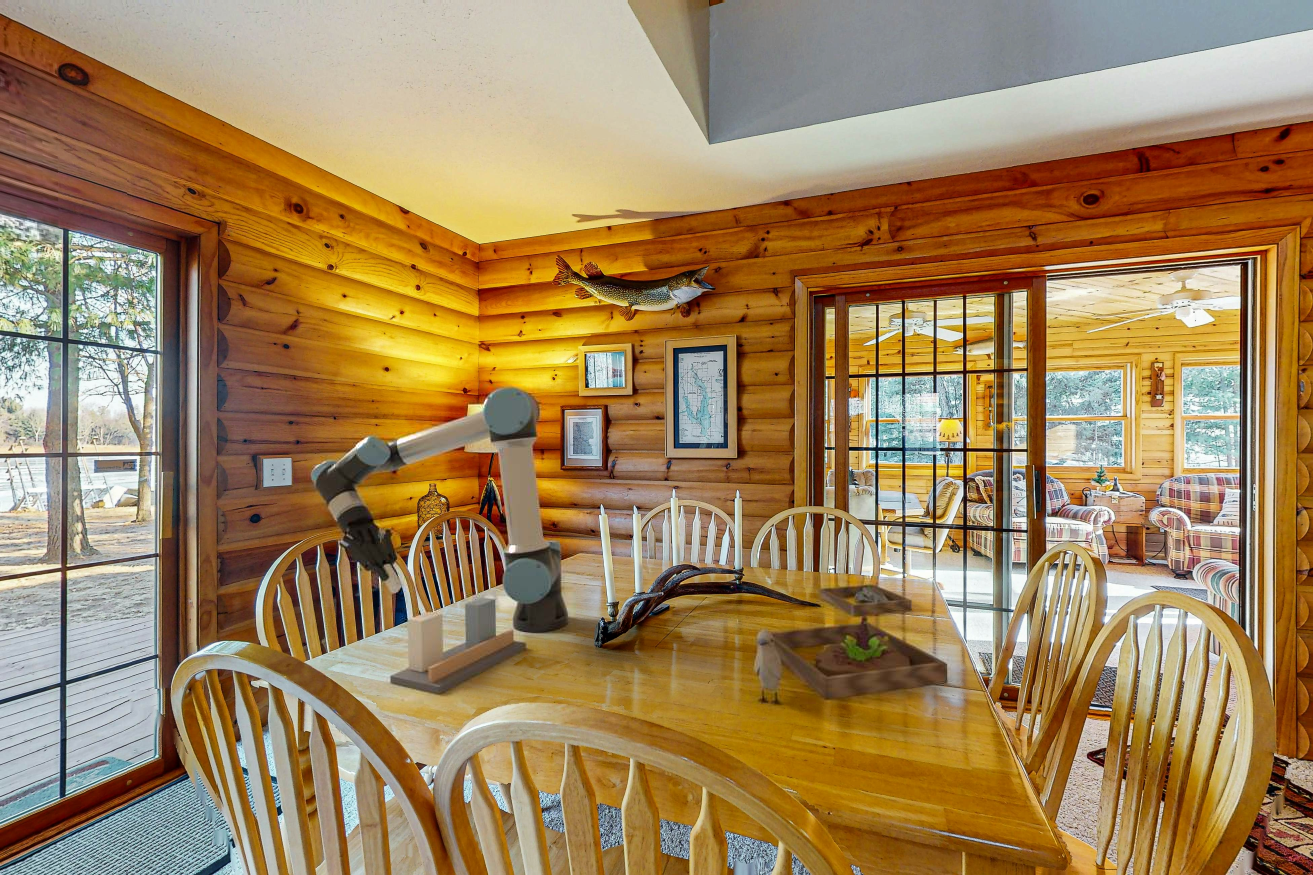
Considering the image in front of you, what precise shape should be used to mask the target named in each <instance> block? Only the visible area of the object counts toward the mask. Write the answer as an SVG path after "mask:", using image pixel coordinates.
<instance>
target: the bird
mask: <svg viewBox="0 0 1313 875" xmlns="http://www.w3.org/2000/svg"><path fill="white" fill-rule="evenodd" d="M770 632H771V631H770V630H769V629H766V628H764V629H762V630H760V631H759V632H758V634H757V635H756V647H757V650H756V651H757V652H756V657H755V658H754V659H755V660H754V666H753V667H754V668H753V669H754V672H755V674H756V676H758V679H759V681H760V685H761V691H762V692H761V694H762V696H761V697H762V698H758V700H757V703H759V701H761V704H762V703H763V702H766V703H768V701H767V699H766V697H765V695H764V693H765V689H766V690H767V691H768V690H769V691H772V690H774V695H775V696H774V697H775V699H774V700H772V701H771V702H770V704H772V703H774V705H776V704H779V705H780V706H782V704H781V703H780V701H779V700H778V698H777V697H778V690H779V684H780V682H781V680H782V676H783V675H782V674H783V670H782V668H783V667H782V666H783V665H782V663H781V660H780V658H779V655H778V653H777V651H776V649H775V647H774V641H773V635H772V634H771V633H770Z"/></svg>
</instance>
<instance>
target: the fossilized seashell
mask: <svg viewBox="0 0 1313 875" xmlns="http://www.w3.org/2000/svg"><path fill="white" fill-rule="evenodd" d="M854 601H856V602H858V603H859V604H865V603H875V602H886V601H889V600H888V599H887V598H886V597H885V596H884V595H882V594H881V593H879V592H878V591H877V590H875V589H874V588H872V587H870V586H868V587H863V590H862V591H860V592H857V594H856V595H855V596H854Z"/></svg>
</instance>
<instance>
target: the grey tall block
mask: <svg viewBox="0 0 1313 875" xmlns="http://www.w3.org/2000/svg"><path fill="white" fill-rule="evenodd" d="M496 608H497V607H496V598H489V597H481V598H477V599H475V600H472V601H470V602H466V603H464V609H465V610H464V611H465V613H464V617H465V619H464V620H465V624H464V625H465V642H466V650H467V649H469V648H471V647H474V646H476V645H478V644H480V643H482V642H484V641H487V640H489V639H491V638H493V637H495V636H497V620H496V619H497V615H496V614H497V613H496Z"/></svg>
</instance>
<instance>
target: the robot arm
mask: <svg viewBox="0 0 1313 875" xmlns="http://www.w3.org/2000/svg"><path fill="white" fill-rule="evenodd" d="M540 416H541V409H540V405H539V402H538V400H537V399H536V398H535V397H534V396H533V395H532V394H530V393H529V392H527V391H525V390H522V389H519V388H517V387H513V386H512V387H510V386H509V387H508V386H507V387H502V388H501V387H500V388H498V389H496V390H494V391H492V392H491V393H490V394H489V395H488V396H487V397H486V399H485V400H484V402H483V406H482V411H479V412H475V413H473V414H469V415H467V416H464V417H461V418H458V419H454V420H452V421H448V422H445V423H442V424H440V425H435V426H434V427H430V428H427V429H423V430H421V431H418V432H416V433H412V434H409V435H406V436H403V437H401V438H397V439H394V440H391V441H388V442H384V441H383V440H382V439H381V438H379V437H377V436H374V435H369V436H366V437H365V438H364V439H362V440H361V441H359V442H358V443H357V444H356V445H355V447H353V448H352V449H351V450H349V452H347V453H346V454H345V455H344V456H343V457H341V459H339V460H338V461H337V460H325V461H323V462H322V463H320V464H317V465H316V466H315V467H313V470H312V471H311V473H310V478H311V481H312V482H313V484H314V488H315V489H316V491H317V492H318V493H319V494H320V496H321V498H322V500H323V501H324V503H325V504H326V506H327V508H328V510H329V512H330V514H331V515H332V517H333V519H334V520H335V521H336V524H337V526H338V528H340V531H341V532H342V533H343V537H341V540H340V541H339V543H338V544H339V546H340V547H342V548H343V549H345V550H347V552H348V553H349V554H351V556H352V558H354V559H355V560H356V561H357V562H358V563H359V565H360V566H361V567H362V568H363V569H364V570H365V571H367V572H370V571H371V572H372V574H373V575H378V577H379V579H380V581H382V582H384V583H385V585H386V587H387V588H388V589H389V591H390V593H391V594H392V595H393V594H396V593H398V592H399V591H400V590H401V588H402V587H403V583H402V582H401V579H400V578H399V577H398V576H399V573H398V572H397V570H396V568H395V566H394V564H396V562H397V561H398V556H397V553H396V550H395V546H394V544H393V541H392V538H391V532H392V530H391V529H390V528H386V529H385V530H383V529H381V528H380V527H379V526H378V525H377V524H376V523H375V522H374V516H373V515H372V513H371V511H370V510H369V509H368V507H367V505H366V503H365V502H364V499H363V498H362V497H361V495H360V494H359V492H358V490H357V489H356V487H357V486H359V485H360V484H361V483H362V482H363V481H364V480H365V479H367V478H368V477H369V476H370V475H371V474H376V473H382V472H393V471H396V470H399V469H400V468H402V467H405V466H407V465H410V464H413V463H416V462H419V461H423V460H425V459H429V458H433V457H434V456H438V455H441V454H443V453H447V452H450V451H453V450H456V449H459V448H461V447H465V446H469V445H472V444H474V443H477V442H480V441H483V440H486V439H489V440H490V444H491V445H492V446H493V447H495V448H496V449H497V453H498V462H499V469H500V478H501V486H502V494H503V502H504V505H503V506H504V513H505V519H506V520H505V521H506V529H507V538H508V543H507V546H506V547H505V548H504V549H503V556H504V567H505V569H504V572H503V575H502V586H503V589H504V592H505V593H506V595H507V596H508V597H509V598H510V599H512V600H513V601H515V602H516V606H515V609H514V613H513V617H512V627H513V628H514V629H515V630H517V631H522V632H528V633H529V632H530V633H537V632H539V633H540V632H541V633H542V632H548V631H553V630H558V629H560V628H563V627H565V626H566V625H567V624H568V623H569V612H568V609H567V606H566V603H565V600H564V598H563V595H562V549H561V548H562V547H561V543H560V541H559V540H558V541H557V540H546V539H545V538H544V534H543V526H542V518H541V516H542V515H541V508H540V502H539V492H538V483H537V475H536V467H535V458H534V451H533V449H534V448H533V446H534V443H535V442H536V441H537V439H538V433H537V432H538V431H537V426H536V425H537V424H538V421H539V420H540Z"/></svg>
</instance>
